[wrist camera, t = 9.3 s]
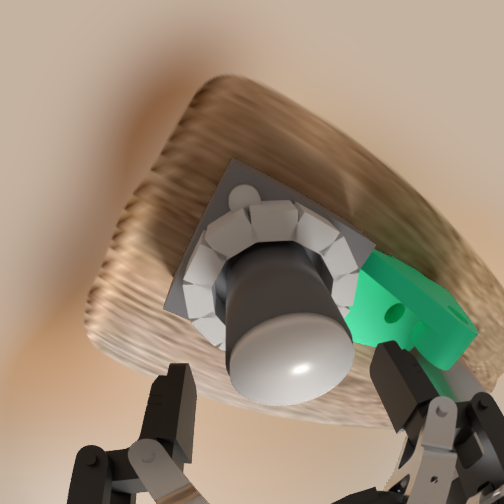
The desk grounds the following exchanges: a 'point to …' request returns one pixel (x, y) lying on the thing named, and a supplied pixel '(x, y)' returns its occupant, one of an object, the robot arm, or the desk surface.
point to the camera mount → (408, 312)
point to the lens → (282, 327)
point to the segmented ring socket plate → (260, 230)
